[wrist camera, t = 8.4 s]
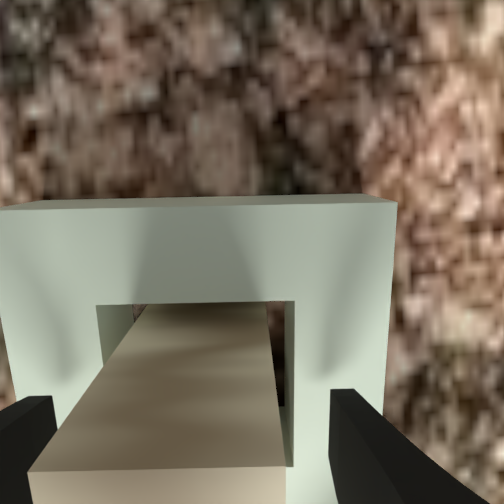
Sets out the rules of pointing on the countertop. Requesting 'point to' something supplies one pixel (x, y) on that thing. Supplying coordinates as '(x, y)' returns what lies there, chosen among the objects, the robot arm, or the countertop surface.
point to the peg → (174, 416)
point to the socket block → (205, 294)
